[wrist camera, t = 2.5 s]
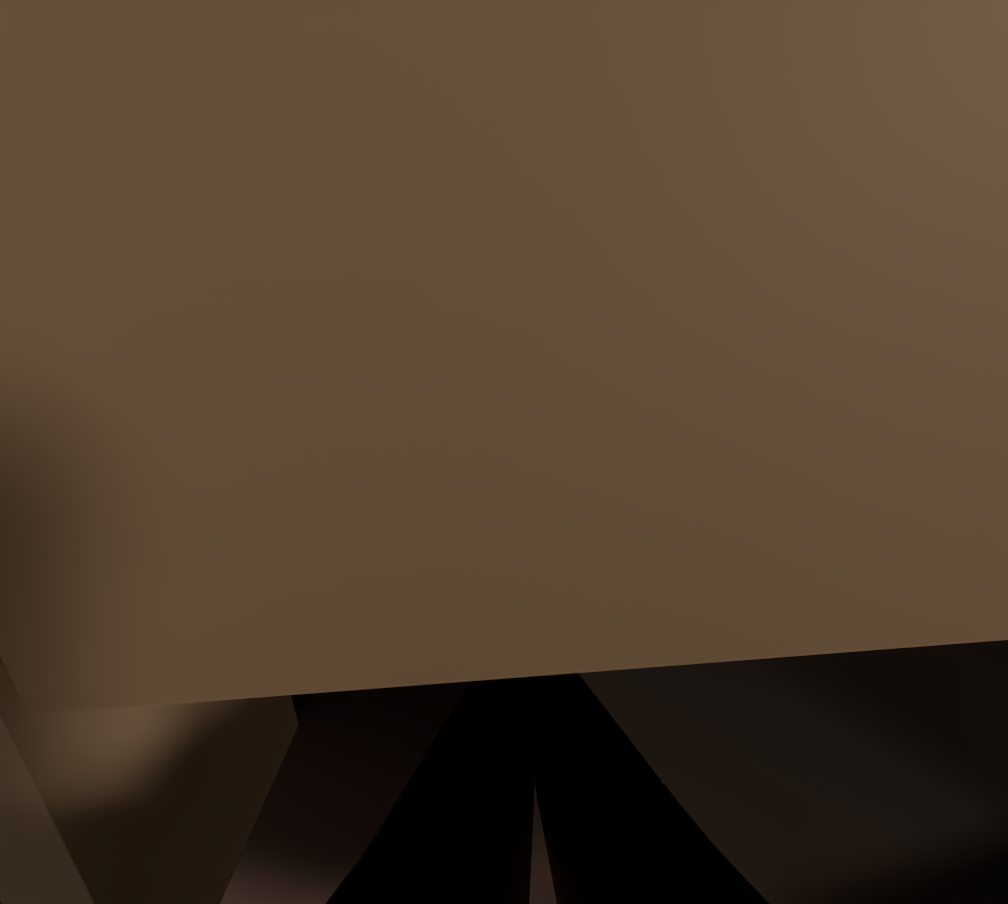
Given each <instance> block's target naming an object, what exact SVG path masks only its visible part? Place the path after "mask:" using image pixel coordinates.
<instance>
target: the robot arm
mask: <svg viewBox="0 0 1008 904" xmlns="http://www.w3.org/2000/svg"><path fill="white" fill-rule="evenodd" d="M533 768H534V771H533ZM534 778H535V787H536V793H537V800H538V806H539V811H540V816H541V822H542V827H543V832H544V838H545V843H546V848H547V854H548V859H549V864H550V870H551V875H552V880H553V886H554V891H555V896H556V901H557V904H769V903H768V902H767V901H766V900H765V899H764V898H763V897H762V896H761V895H760V894H759V893H758V891H757V890H756V889H755V888H754V887H753V886H752V885H751V884H750V883H749V882H748V881H747V880H746V879H745V878H744V877H743V876H742V875H741V874H740V873H739V872H738V870H737V869H736V868H735V867H734V866H733V865H732V864H731V863H730V862H729V861H728V860H727V859H726V857H725V856H724V855H723V854H722V853H721V852H720V851H719V850H718V849H717V848H716V847H715V846H714V845H713V843H712V842H711V841H710V840H709V839H708V838H707V837H706V835H705V834H704V833H703V832H702V831H701V829H700V828H699V827H698V826H697V824H696V823H695V822H694V821H693V820H692V818H691V817H690V816H689V815H688V814H687V812H686V811H685V810H684V809H683V808H682V806H681V805H680V804H679V802H678V801H677V800H676V799H675V797H674V796H673V795H672V793H671V792H670V791H669V789H668V788H667V787H666V786H665V785H664V784H661V780H660V778H659V777H658V776H657V774H656V773H655V772H654V771H653V769H652V768H651V767H650V765H649V764H648V763H647V762H646V760H645V759H644V758H643V756H642V755H641V754H640V753H639V751H638V750H637V749H636V747H635V746H634V745H633V743H632V742H631V741H630V740H629V738H628V737H627V736H626V734H625V733H624V732H623V731H622V729H621V728H620V727H619V725H618V724H617V723H616V722H615V720H614V719H613V718H612V716H611V715H610V714H609V713H608V711H607V710H606V709H605V707H604V706H603V705H602V704H601V702H600V701H599V700H598V698H597V697H596V696H595V695H594V693H593V692H592V691H591V689H590V688H589V687H588V685H587V684H586V683H585V682H584V680H583V679H582V678H581V676H580V675H579V674H578V673H570V674H557V675H544V676H531V677H518V678H505V679H492V680H479V681H471V682H470V684H469V685H468V687H467V688H466V690H465V692H464V693H463V695H462V697H461V698H460V700H459V701H458V703H457V705H456V706H455V708H454V709H453V711H452V713H451V714H450V716H449V717H448V719H447V721H446V722H445V724H444V725H443V727H442V729H441V730H440V732H439V733H438V735H437V737H436V738H435V740H434V741H433V743H432V745H431V746H430V748H429V749H428V751H427V753H426V754H425V756H424V757H423V759H422V761H421V762H420V764H419V765H418V767H417V769H416V770H415V772H414V773H413V775H412V777H411V778H410V780H409V781H408V783H407V785H406V786H405V788H404V789H403V791H402V793H401V794H400V796H399V797H398V802H396V803H394V805H393V806H392V808H391V810H390V811H389V813H388V814H387V816H386V818H385V819H384V821H383V823H382V824H381V826H380V827H379V829H378V830H377V832H376V833H375V835H374V836H373V838H372V839H371V841H370V842H369V844H368V845H367V847H366V848H365V850H364V851H363V853H362V854H361V856H360V857H359V859H358V860H357V862H356V863H355V865H354V866H353V867H352V869H351V870H350V871H349V873H348V874H347V875H346V877H345V878H344V880H343V881H342V882H341V884H340V885H339V886H338V888H337V889H336V890H335V892H334V893H333V894H332V896H331V897H330V898H329V900H328V901H327V902H326V904H529V895H530V874H531V853H532V831H533V810H534Z"/></svg>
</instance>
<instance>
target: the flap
mask: <svg viewBox="0 0 1008 904" xmlns="http://www.w3.org/2000/svg"><path fill="white" fill-rule="evenodd" d="M298 726H299V723H298V720H297V716H296V713H295V709H294V705H293V702H292V698H291V695H285V696H272V697H259V698H246V699H233V700H220V701H207V702H194V703H181V704H168V705H155V706H142V707H129V708H116V709H103V710H91V711H78V712H65V713H52V714H39V715H32V713H27V712H26V709H25V707H24V705H23V703H22V701H21V699H20V697H19V695H18V693H17V691H16V689H15V687H14V684H13V682H12V680H11V678H10V676H9V674H8V672H7V670H6V668H5V666H4V664H3V662H2V659H1V657H0V902H1V903H2V904H220V902H221V899H222V897H223V895H224V893H225V890H226V888H227V886H228V884H229V881H230V879H231V877H232V875H233V872H234V870H235V868H236V866H237V863H238V861H239V859H240V856H241V854H242V852H243V850H244V847H245V845H246V843H247V841H248V838H249V836H250V834H251V832H252V829H253V827H254V825H255V823H256V820H257V818H258V816H259V814H260V811H261V809H262V807H263V805H264V802H265V800H266V798H267V796H268V793H269V791H270V789H271V786H272V784H273V782H274V780H275V777H276V775H277V773H278V771H279V768H280V766H281V764H282V762H283V759H284V757H285V755H286V753H287V750H288V748H289V746H290V744H291V741H292V739H293V737H294V735H295V732H296V730H297V728H298Z"/></svg>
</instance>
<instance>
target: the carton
mask: <svg viewBox="0 0 1008 904" xmlns="http://www.w3.org/2000/svg"><path fill="white" fill-rule="evenodd" d="M997 640H1008V0H0V657H1V659H2V662H3V664H4V666H5V668H6V670H7V672H8V674H9V676H10V678H11V680H12V682H13V684H14V687H15V689H16V691H17V693H18V695H19V697H20V699H21V701H22V703H23V705H24V707H25V709H26V712H27V713H32V715H39V714H52V713H65V712H78V711H91V710H103V709H116V708H129V707H142V706H155V705H168V704H181V703H194V702H207V701H220V700H233V699H246V698H259V697H272V696H285V695H298V694H311V693H324V692H337V691H350V690H362V689H375V688H388V687H401V686H414V685H427V684H440V683H453V682H466V681H479V680H492V679H505V678H518V677H531V676H544V675H557V674H570V673H583V672H596V671H609V670H622V669H634V668H647V667H660V666H673V665H686V664H699V663H712V662H725V661H738V660H751V659H764V658H777V657H790V656H803V655H816V654H829V653H842V652H855V651H868V650H881V649H893V648H906V647H919V646H932V645H945V644H958V643H971V642H984V641H997Z"/></svg>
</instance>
